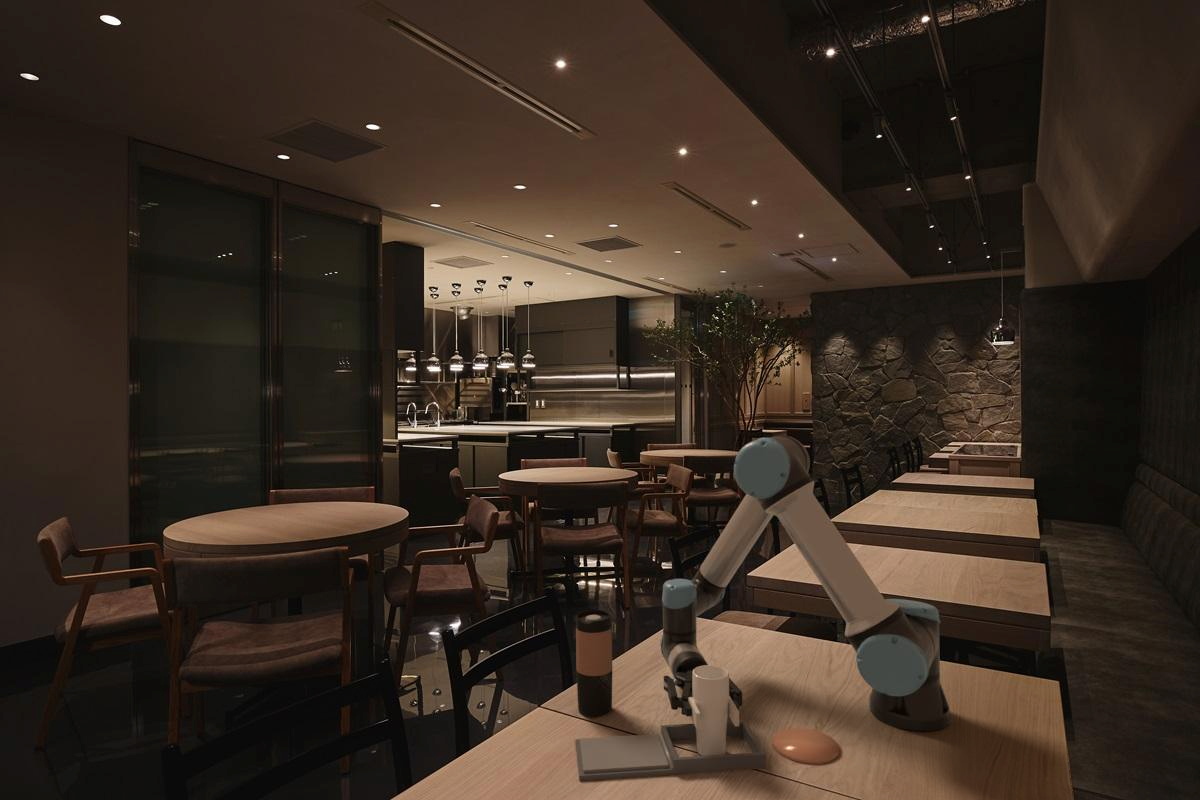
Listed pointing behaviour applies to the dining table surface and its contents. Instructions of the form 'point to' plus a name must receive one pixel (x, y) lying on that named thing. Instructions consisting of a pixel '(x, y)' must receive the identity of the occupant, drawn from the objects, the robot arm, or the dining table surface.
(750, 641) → the dining table surface
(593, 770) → the open case
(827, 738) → the coaster
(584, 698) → the travel mug
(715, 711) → the drinking glass
